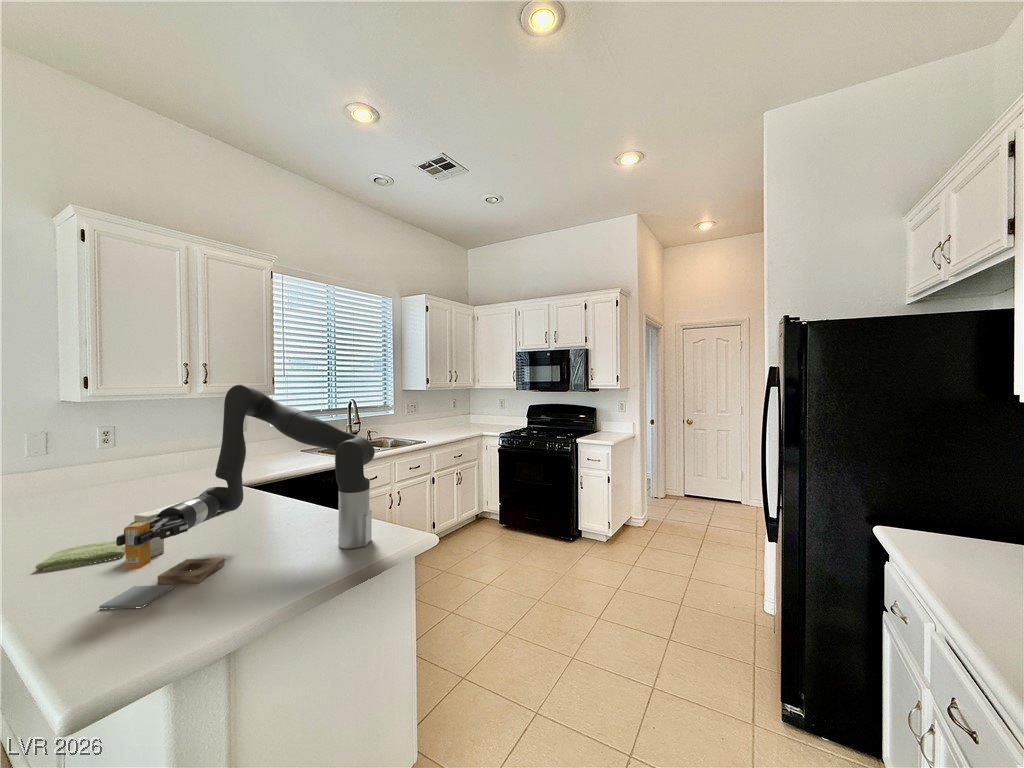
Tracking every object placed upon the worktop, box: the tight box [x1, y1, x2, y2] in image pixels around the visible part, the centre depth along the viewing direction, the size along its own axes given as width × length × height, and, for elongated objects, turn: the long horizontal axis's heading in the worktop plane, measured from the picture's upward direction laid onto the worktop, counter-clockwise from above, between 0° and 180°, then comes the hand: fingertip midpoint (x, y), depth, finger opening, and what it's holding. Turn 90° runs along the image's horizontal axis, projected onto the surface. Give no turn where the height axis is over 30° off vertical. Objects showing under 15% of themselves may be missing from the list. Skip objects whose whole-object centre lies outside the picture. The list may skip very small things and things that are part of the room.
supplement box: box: [124, 522, 151, 570], centre depth 96 cm, size 3×3×10 cm
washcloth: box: [35, 539, 126, 573], centre depth 118 cm, size 13×18×3 cm
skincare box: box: [134, 510, 165, 558], centre depth 121 cm, size 6×4×12 cm
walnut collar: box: [157, 557, 225, 585], centre depth 108 cm, size 10×10×2 cm
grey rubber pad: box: [98, 584, 174, 609], centre depth 96 cm, size 9×9×1 cm
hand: (127, 541), depth 93 cm, fingers closed on supplement box, 3 cm apart
